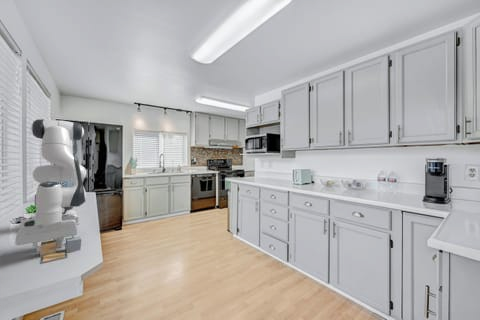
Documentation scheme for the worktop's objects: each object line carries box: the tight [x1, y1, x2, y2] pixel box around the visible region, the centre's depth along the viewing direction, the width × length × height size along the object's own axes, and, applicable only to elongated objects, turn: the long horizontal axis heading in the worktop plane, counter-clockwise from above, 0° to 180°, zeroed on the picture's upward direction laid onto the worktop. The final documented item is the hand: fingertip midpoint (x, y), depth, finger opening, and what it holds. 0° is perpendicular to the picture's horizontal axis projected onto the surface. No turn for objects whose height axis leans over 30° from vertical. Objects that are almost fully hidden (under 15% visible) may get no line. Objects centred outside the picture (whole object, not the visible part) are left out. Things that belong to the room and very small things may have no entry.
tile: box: [39, 250, 68, 265], centre depth 89 cm, size 8×8×1 cm
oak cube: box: [39, 239, 57, 258], centre depth 93 cm, size 5×5×5 cm
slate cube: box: [64, 236, 82, 254], centre depth 97 cm, size 5×5×5 cm
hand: (48, 249), depth 93 cm, fingers closed on oak cube, 5 cm apart
